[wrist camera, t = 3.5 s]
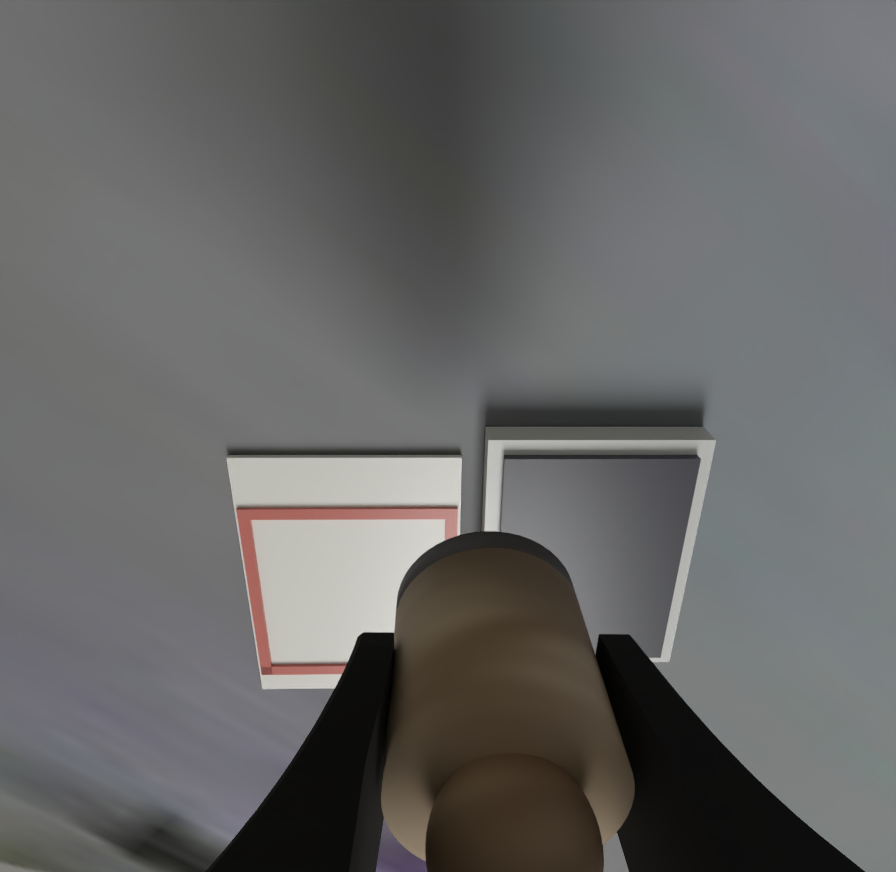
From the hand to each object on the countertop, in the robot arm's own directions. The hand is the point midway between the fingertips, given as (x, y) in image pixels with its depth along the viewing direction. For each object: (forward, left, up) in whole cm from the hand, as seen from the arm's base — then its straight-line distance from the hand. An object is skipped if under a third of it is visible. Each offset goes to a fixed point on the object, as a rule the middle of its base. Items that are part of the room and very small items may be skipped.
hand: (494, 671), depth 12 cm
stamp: (0, 0, -2) cm, 2 cm away
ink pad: (-4, +3, -9) cm, 10 cm away
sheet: (+4, +5, -9) cm, 11 cm away
